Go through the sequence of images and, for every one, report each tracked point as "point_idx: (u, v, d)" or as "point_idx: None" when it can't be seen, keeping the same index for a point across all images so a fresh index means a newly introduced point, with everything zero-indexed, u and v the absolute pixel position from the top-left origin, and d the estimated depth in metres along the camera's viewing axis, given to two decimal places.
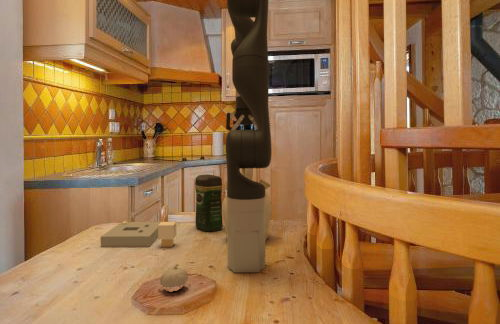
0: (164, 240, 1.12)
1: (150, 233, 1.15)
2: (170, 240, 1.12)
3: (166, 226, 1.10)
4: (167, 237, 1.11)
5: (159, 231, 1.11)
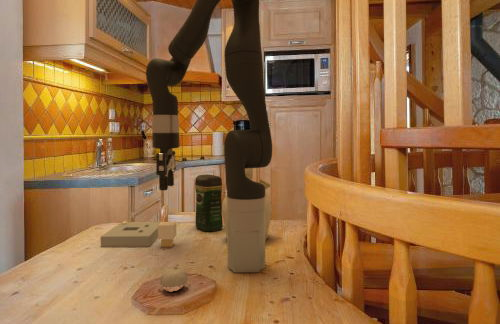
0: (164, 240, 1.12)
1: (150, 233, 1.15)
2: (170, 241, 1.12)
3: (166, 226, 1.10)
4: (167, 237, 1.11)
5: (159, 231, 1.11)
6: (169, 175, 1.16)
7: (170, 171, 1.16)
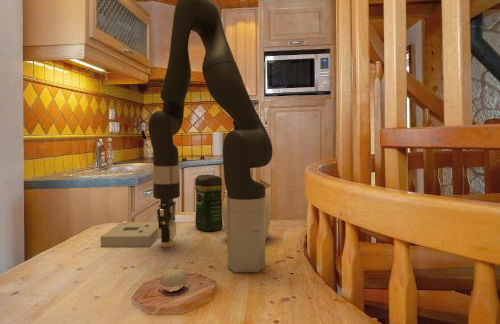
0: None
1: (150, 233, 1.15)
2: (170, 240, 1.12)
3: None
4: None
5: (159, 231, 1.11)
6: None
7: None
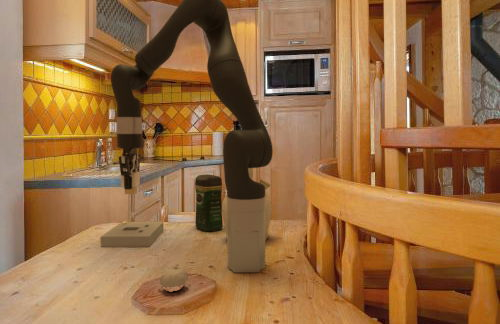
0: None
1: (150, 233, 1.15)
2: (133, 188, 1.19)
3: None
4: None
5: (122, 179, 1.18)
6: None
7: None
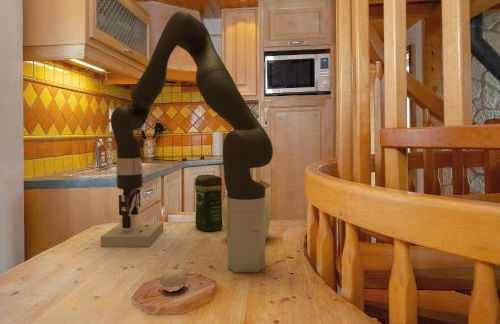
0: None
1: (150, 233, 1.15)
2: None
3: None
4: (130, 229, 1.19)
5: (122, 223, 1.18)
6: (134, 212, 1.24)
7: (135, 208, 1.24)
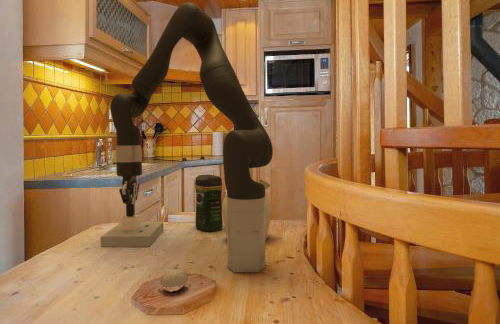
0: None
1: (150, 233, 1.15)
2: None
3: (129, 218, 1.18)
4: (130, 229, 1.19)
5: (122, 223, 1.18)
6: None
7: None
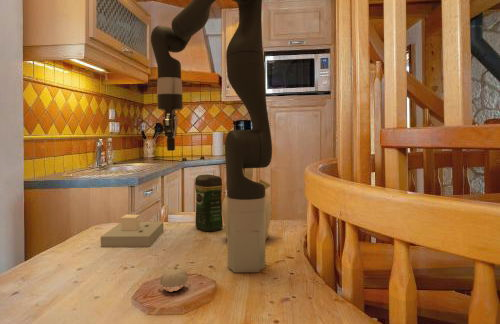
0: None
1: (150, 233, 1.15)
2: None
3: (129, 218, 1.18)
4: (130, 229, 1.19)
5: (122, 223, 1.18)
6: None
7: None
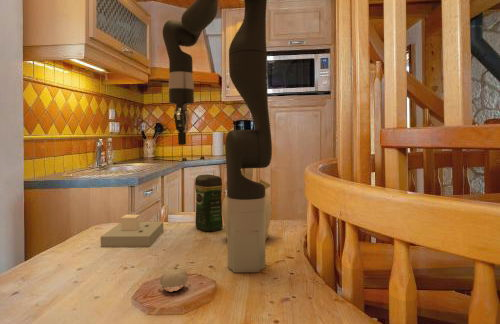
0: None
1: (150, 233, 1.15)
2: None
3: (129, 218, 1.18)
4: (130, 229, 1.19)
5: (122, 223, 1.18)
6: None
7: None
